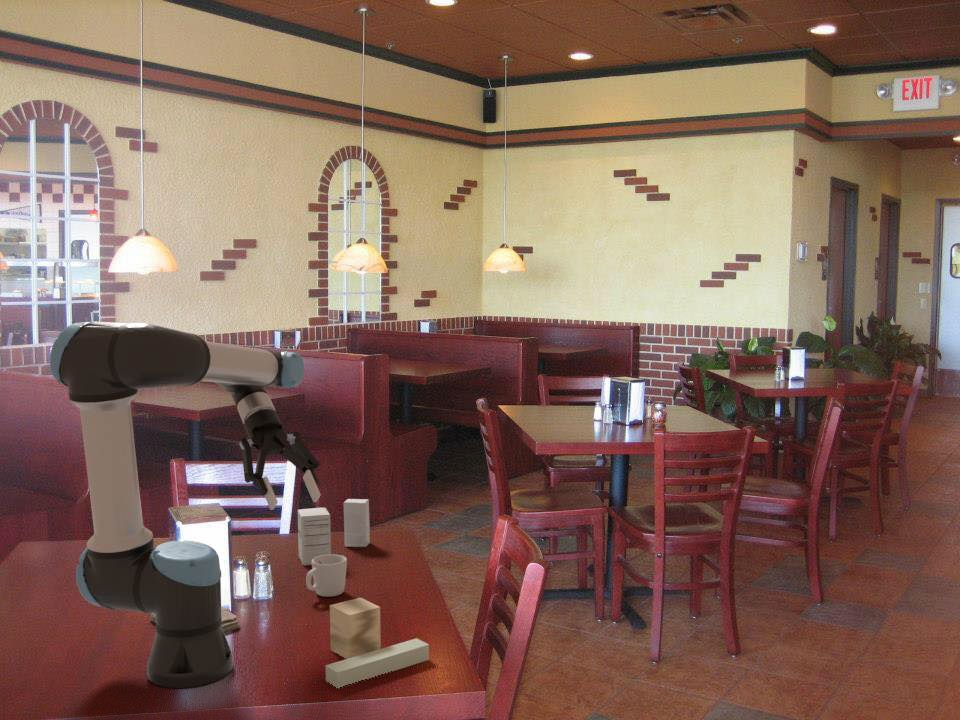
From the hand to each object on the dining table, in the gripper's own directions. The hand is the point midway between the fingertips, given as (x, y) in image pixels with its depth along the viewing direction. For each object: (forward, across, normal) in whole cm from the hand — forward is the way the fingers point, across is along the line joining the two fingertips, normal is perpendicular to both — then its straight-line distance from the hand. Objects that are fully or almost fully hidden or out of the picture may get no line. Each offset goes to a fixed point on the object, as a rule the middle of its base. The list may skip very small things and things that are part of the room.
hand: (295, 502), depth 207 cm
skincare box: (-9, -38, -44) cm, 59 cm away
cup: (+12, -11, -24) cm, 29 cm away
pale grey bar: (+41, +2, +6) cm, 42 cm away
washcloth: (+11, +19, -25) cm, 33 cm away
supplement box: (-5, -22, -41) cm, 47 cm away
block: (+34, 0, -1) cm, 34 cm away
